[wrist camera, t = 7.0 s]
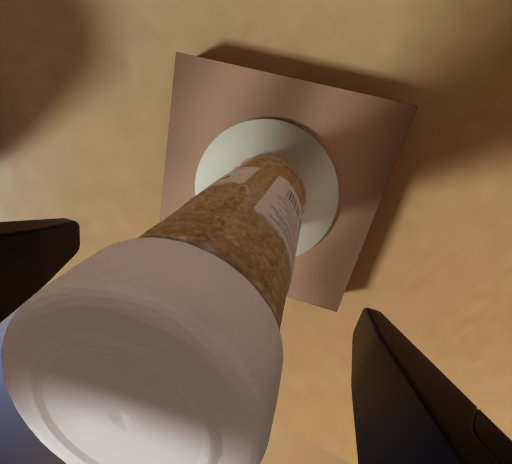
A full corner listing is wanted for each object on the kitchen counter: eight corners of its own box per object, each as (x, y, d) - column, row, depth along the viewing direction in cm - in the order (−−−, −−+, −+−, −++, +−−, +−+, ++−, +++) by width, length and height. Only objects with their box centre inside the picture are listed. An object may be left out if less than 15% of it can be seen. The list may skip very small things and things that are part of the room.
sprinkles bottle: (231, 147, 16) (-47, 255, 4) (316, 163, 16) (298, 344, 3) (221, 226, 18) (8, 470, 6) (298, 243, 18) (244, 553, 5)
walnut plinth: (406, 106, 16) (419, 105, 14) (335, 294, 21) (336, 314, 19) (191, 58, 17) (173, 50, 15) (170, 245, 22) (153, 260, 20)
